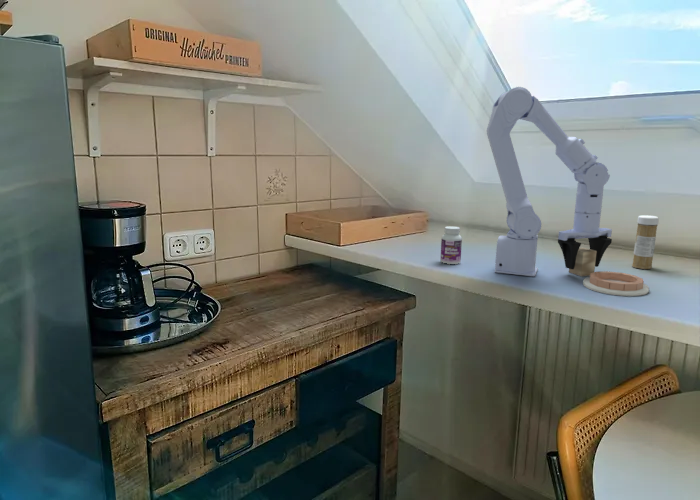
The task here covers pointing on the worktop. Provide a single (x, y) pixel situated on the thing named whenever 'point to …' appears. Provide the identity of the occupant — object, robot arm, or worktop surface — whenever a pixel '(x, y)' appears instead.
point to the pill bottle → (451, 245)
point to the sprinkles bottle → (645, 241)
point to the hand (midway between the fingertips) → (581, 267)
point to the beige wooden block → (584, 262)
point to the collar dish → (616, 284)
